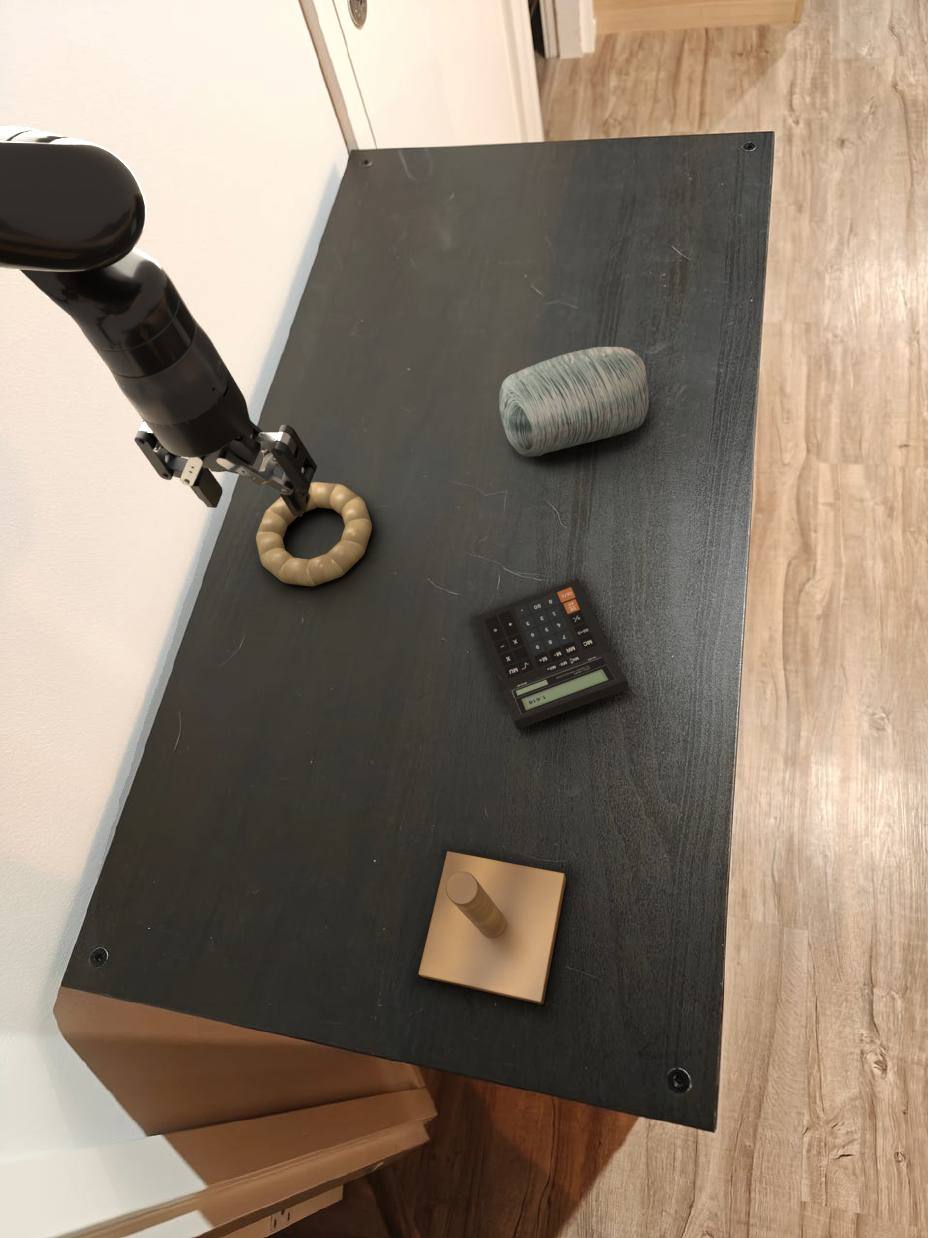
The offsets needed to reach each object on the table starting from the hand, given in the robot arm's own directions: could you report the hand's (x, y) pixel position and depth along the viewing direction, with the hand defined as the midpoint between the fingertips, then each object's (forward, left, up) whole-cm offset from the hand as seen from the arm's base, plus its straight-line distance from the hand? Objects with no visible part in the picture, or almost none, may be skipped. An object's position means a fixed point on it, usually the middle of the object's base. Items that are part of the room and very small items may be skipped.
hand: (258, 503), depth 85 cm
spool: (+26, +15, -6) cm, 31 cm away
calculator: (+28, -9, -6) cm, 30 cm away
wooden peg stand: (+28, -31, -5) cm, 42 cm away
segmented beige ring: (+4, 0, -4) cm, 6 cm away
